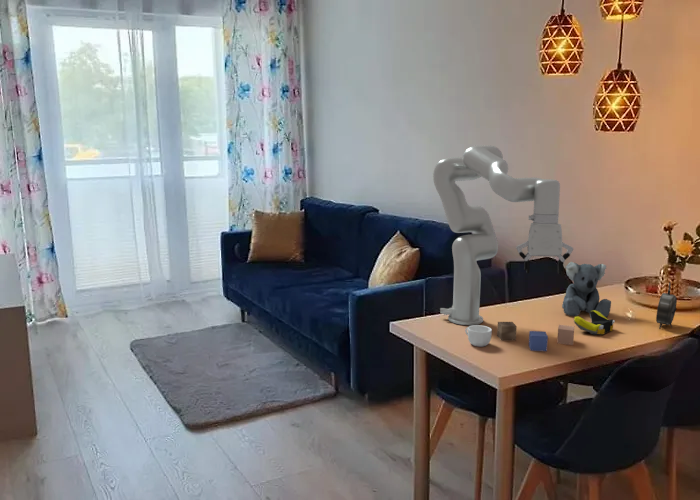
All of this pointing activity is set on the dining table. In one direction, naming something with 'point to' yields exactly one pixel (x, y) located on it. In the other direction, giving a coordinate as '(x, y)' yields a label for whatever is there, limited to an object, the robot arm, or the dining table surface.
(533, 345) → the blue cube
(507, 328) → the walnut block
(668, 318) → the alarm clock
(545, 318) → the dining table surface
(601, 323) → the yellow black angled piece
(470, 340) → the teacup
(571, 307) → the koala plush
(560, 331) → the beige cube
